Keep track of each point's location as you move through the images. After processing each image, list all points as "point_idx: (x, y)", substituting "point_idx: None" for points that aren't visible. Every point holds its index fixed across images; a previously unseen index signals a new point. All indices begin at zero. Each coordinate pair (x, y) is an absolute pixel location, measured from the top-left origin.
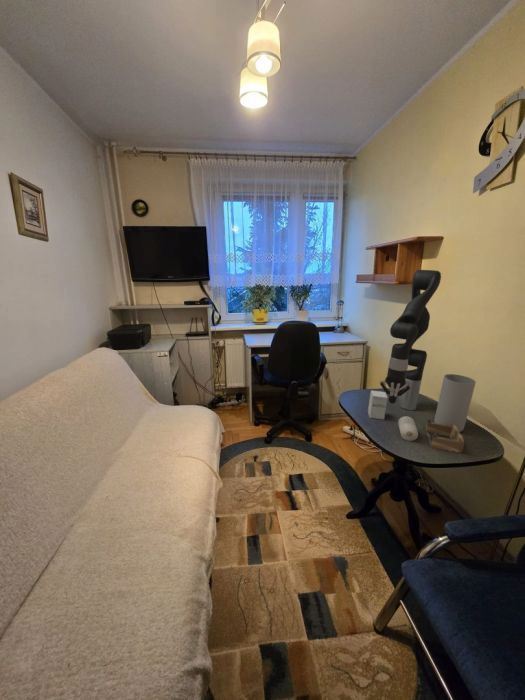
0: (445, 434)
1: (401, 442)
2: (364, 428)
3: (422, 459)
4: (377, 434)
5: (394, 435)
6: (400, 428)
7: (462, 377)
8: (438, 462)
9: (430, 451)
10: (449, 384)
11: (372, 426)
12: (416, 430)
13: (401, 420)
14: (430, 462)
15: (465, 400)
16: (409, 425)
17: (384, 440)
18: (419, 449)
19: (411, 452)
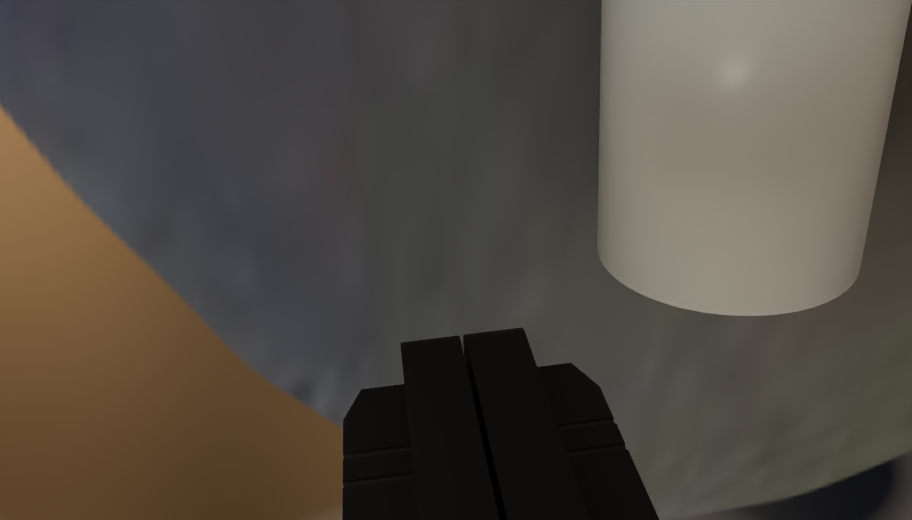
0: None
1: (588, 282)
2: (50, 160)
3: (752, 478)
4: (273, 239)
5: (510, 149)
6: (611, 194)
7: None
8: (893, 454)
9: (889, 309)
10: None
11: (153, 26)
12: (853, 280)
13: (670, 5)
14: (815, 486)
15: None
16: (774, 267)
17: (379, 337)
18: (774, 328)
19: (670, 420)
